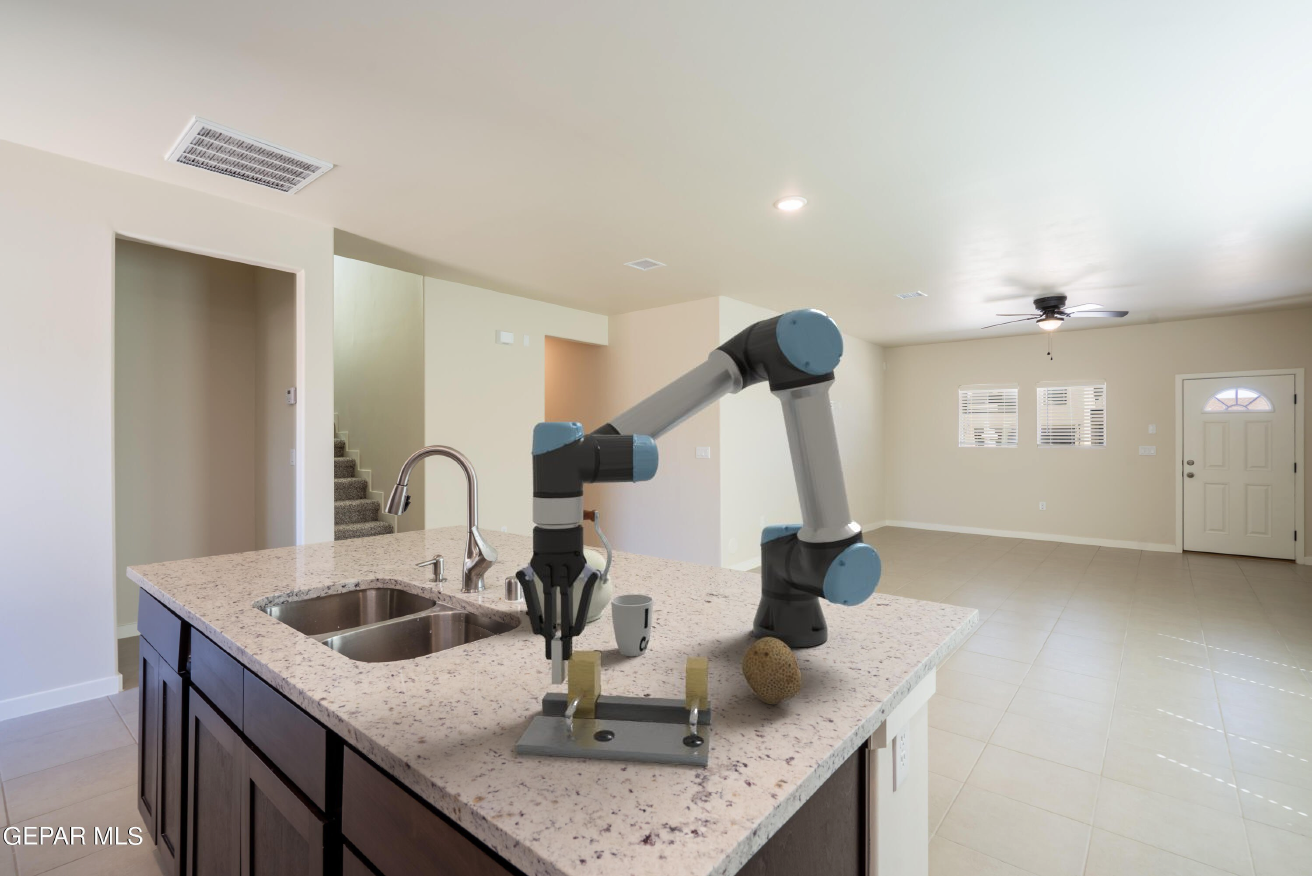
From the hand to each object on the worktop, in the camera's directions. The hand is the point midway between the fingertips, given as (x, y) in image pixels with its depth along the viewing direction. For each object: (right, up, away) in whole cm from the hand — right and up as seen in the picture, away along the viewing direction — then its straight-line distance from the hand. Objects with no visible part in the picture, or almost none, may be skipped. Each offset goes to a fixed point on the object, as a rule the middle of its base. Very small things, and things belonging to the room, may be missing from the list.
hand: (559, 680), depth 90 cm
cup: (+10, -5, +25) cm, 28 cm away
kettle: (-6, -5, +50) cm, 50 cm away
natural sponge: (+32, -5, +3) cm, 33 cm away
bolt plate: (+9, -5, -9) cm, 14 cm away
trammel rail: (+10, -5, -5) cm, 12 cm away
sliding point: (+3, -4, -4) cm, 7 cm away
